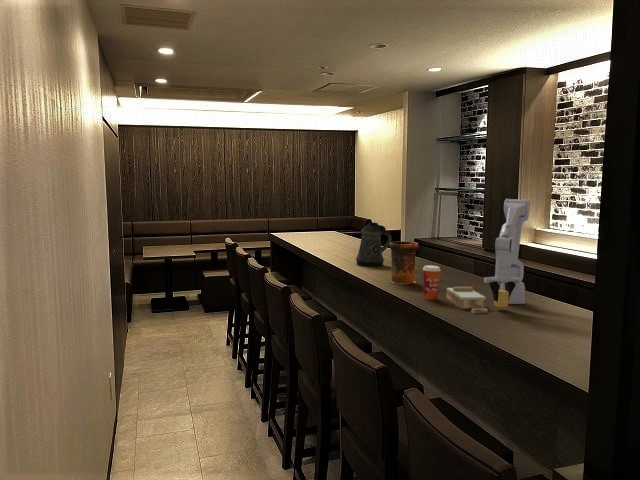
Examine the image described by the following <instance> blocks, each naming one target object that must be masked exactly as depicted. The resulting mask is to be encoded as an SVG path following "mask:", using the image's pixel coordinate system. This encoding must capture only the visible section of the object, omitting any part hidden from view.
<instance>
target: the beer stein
mask: <svg viewBox="0 0 640 480" xmlns="http://www.w3.org/2000/svg"><path fill="white" fill-rule="evenodd" d="M360 231H361V237H360V238H361V239H360V244H359V249H358V253H357V256H356V257H355V258H356V259H355V261H356V265H357V266H359V267H360V266H361V267H367V268H369V267H370V268H377V267H382V266H384V260H385V258H384V256H383V252H384V251H386V250H387V249H388V248H389V247H390V245H389V244H390V243H391V242H392V235H391V232H390V231H388V230H386V227H385V226H384V225H380V224H378V222H368V224H366V225H365V226H364V227H363V228H362V229H361V230H360ZM381 236H386V237H387V240H386V242H385V244H384V245H383V246H382V238H381Z"/></svg>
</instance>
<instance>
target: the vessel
mask: <svg viewBox="0 0 640 480" xmlns="http://www.w3.org/2000/svg"><path fill="white" fill-rule="evenodd" d="M389 248H390V253H391V254H390V256H391V268H390V269H391V279H390V280H389V281H388V283H392V284H397V285H409V284H416V283H417V282H416V281H415V267H416V254H417V250H418V249H419V243H418V242H414V241H391V243H390V244H389Z"/></svg>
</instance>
